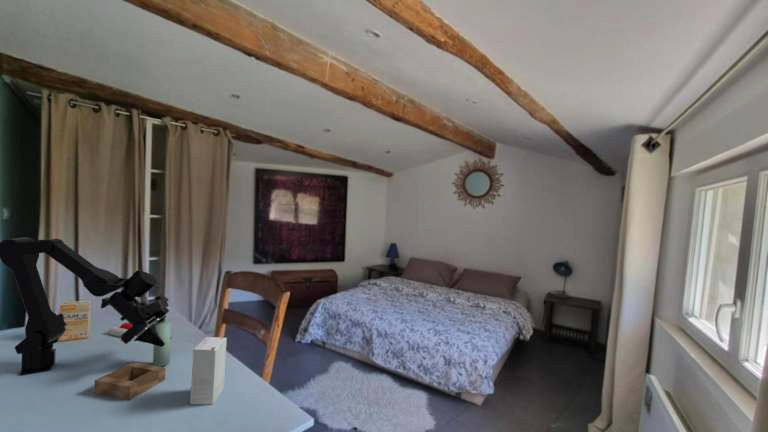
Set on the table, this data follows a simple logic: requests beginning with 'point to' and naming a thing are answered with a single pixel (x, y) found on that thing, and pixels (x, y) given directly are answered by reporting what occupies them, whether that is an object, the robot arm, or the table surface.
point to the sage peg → (163, 353)
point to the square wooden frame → (125, 389)
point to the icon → (120, 329)
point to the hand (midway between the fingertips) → (167, 342)
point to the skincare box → (208, 370)
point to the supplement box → (76, 319)
